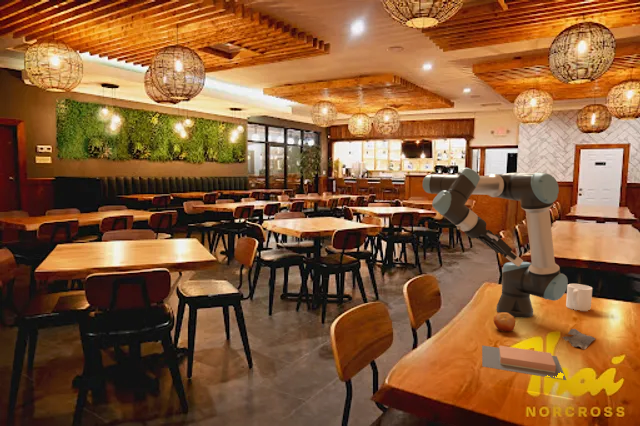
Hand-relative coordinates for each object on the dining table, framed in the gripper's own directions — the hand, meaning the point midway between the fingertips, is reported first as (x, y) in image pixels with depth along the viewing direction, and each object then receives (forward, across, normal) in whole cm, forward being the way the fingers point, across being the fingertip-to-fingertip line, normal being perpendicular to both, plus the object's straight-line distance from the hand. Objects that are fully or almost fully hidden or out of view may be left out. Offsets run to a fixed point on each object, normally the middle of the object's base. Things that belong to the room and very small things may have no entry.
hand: (519, 263), depth 153 cm
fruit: (+22, -17, -21) cm, 35 cm away
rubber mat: (+14, +11, -29) cm, 34 cm away
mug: (+61, -40, +11) cm, 74 cm away
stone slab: (+41, -6, -8) cm, 42 cm away
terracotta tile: (+8, +8, -31) cm, 33 cm away
